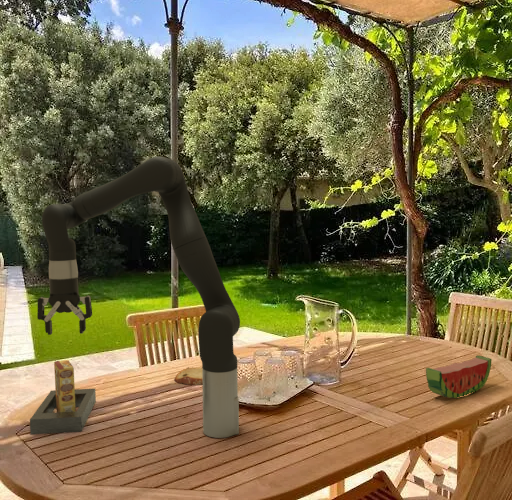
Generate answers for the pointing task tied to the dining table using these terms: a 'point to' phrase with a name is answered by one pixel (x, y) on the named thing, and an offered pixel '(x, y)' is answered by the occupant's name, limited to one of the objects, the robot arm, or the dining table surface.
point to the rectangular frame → (63, 414)
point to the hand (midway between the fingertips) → (66, 333)
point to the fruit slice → (459, 377)
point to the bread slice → (190, 376)
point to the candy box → (64, 386)
